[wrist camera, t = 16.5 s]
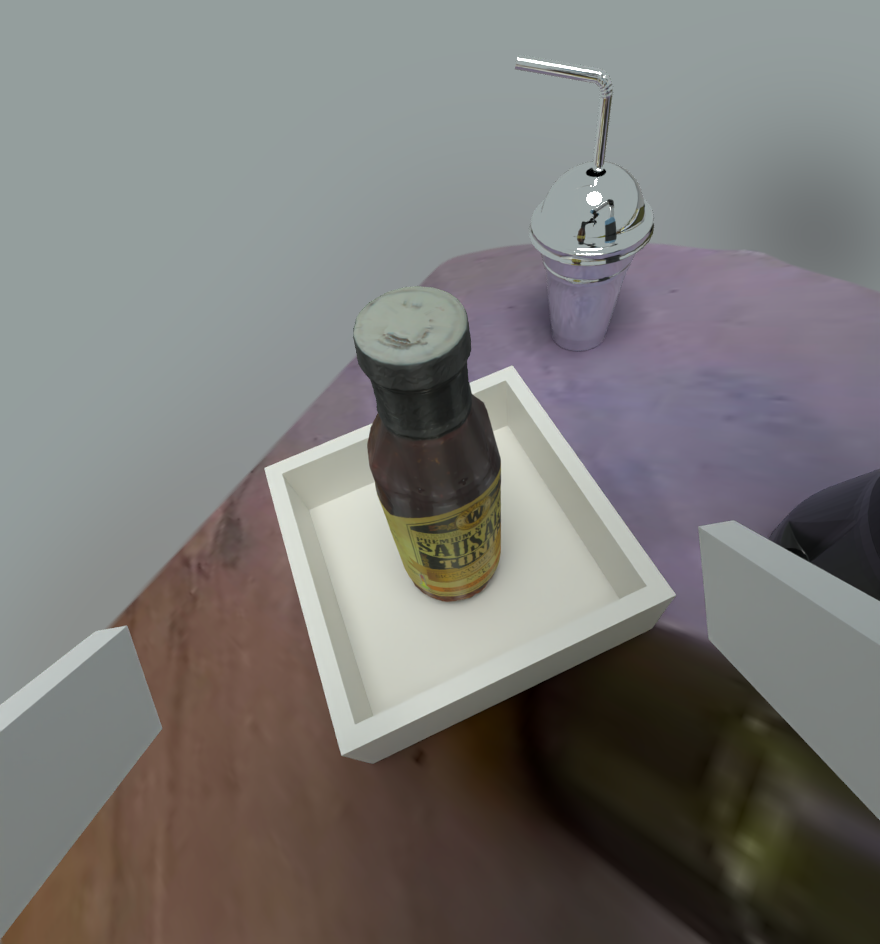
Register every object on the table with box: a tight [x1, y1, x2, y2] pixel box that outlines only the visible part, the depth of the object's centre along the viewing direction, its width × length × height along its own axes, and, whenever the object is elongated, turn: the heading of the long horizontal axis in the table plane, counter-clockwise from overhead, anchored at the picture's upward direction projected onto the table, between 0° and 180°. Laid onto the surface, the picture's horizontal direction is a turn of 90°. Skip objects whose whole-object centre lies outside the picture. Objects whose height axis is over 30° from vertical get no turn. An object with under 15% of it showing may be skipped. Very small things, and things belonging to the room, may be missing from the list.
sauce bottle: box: [353, 286, 501, 602], centre depth 26 cm, size 7×6×20 cm
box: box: [264, 366, 676, 764], centre depth 33 cm, size 18×18×6 cm
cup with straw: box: [515, 55, 654, 351], centre depth 37 cm, size 8×9×20 cm
